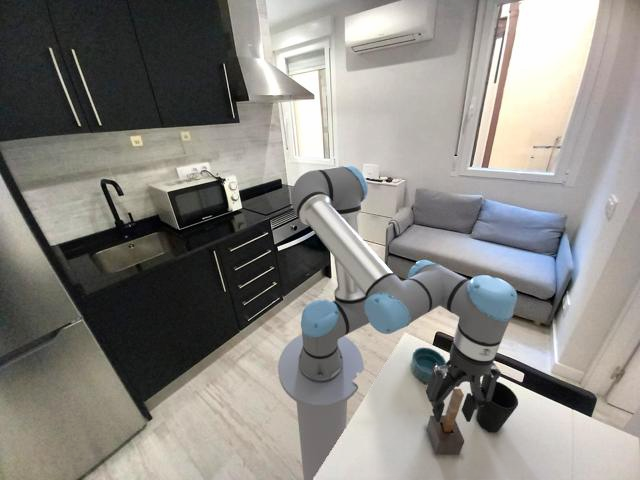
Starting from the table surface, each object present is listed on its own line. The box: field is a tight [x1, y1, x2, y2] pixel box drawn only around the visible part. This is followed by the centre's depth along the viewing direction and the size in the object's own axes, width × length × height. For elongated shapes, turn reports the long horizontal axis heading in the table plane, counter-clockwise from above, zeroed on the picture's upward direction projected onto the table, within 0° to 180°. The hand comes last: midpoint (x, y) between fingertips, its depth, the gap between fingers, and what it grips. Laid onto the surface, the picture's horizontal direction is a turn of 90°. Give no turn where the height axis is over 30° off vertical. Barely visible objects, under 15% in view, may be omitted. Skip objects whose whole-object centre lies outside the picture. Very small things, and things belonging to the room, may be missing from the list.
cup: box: [475, 380, 519, 434], centre depth 68 cm, size 8×8×12 cm
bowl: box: [410, 347, 447, 384], centre depth 84 cm, size 10×10×5 cm
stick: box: [442, 388, 465, 433], centre depth 62 cm, size 2×2×20 cm
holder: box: [426, 414, 465, 456], centre depth 65 cm, size 6×6×6 cm
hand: (450, 415), depth 62 cm, fingers open, 6 cm apart
